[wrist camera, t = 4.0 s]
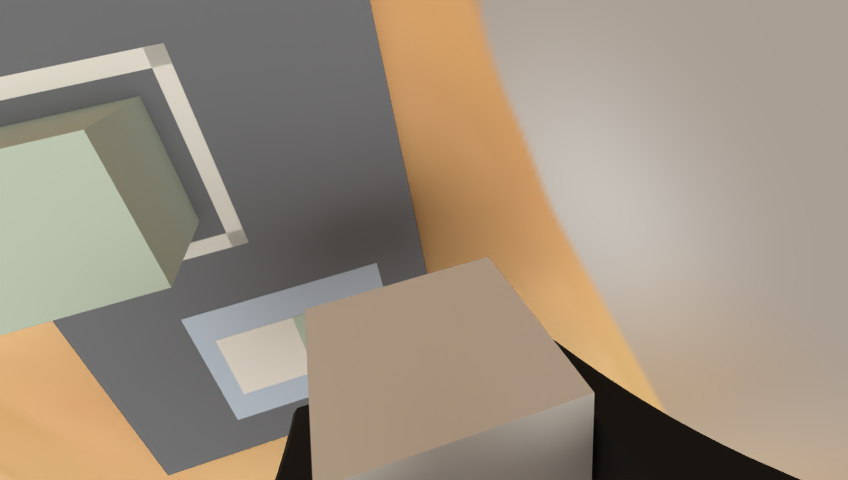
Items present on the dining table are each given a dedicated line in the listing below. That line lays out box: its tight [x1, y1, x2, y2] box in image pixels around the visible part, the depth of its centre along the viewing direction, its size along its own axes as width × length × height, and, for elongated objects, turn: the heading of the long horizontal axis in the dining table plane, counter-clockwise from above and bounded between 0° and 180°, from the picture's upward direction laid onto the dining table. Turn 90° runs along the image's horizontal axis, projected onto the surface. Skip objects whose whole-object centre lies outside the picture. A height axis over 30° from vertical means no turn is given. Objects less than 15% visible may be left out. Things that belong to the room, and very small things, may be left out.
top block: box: [305, 257, 595, 480], centre depth 10 cm, size 4×4×4 cm
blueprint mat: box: [0, 0, 427, 475], centre depth 18 cm, size 20×14×1 cm
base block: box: [0, 96, 199, 335], centre depth 13 cm, size 4×4×4 cm
